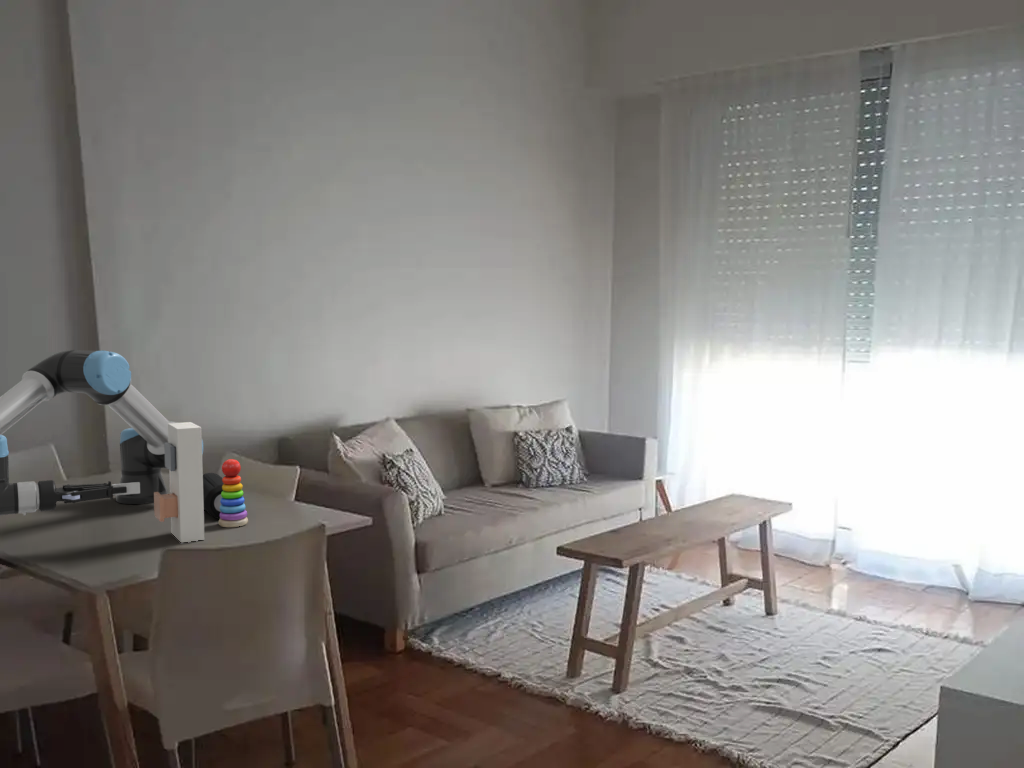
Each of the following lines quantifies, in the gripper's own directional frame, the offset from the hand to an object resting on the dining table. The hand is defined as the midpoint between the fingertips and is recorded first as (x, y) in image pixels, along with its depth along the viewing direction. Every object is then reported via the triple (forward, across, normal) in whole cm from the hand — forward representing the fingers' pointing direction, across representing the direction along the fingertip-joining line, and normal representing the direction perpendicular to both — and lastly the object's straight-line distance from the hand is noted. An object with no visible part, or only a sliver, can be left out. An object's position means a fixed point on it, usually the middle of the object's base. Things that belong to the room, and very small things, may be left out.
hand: (139, 487), depth 239 cm
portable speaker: (+26, -26, -14) cm, 40 cm away
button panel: (+12, 0, -14) cm, 19 cm away
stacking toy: (+26, -7, -14) cm, 31 cm away
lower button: (+8, 0, -9) cm, 12 cm away
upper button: (+11, 0, +4) cm, 12 cm away
